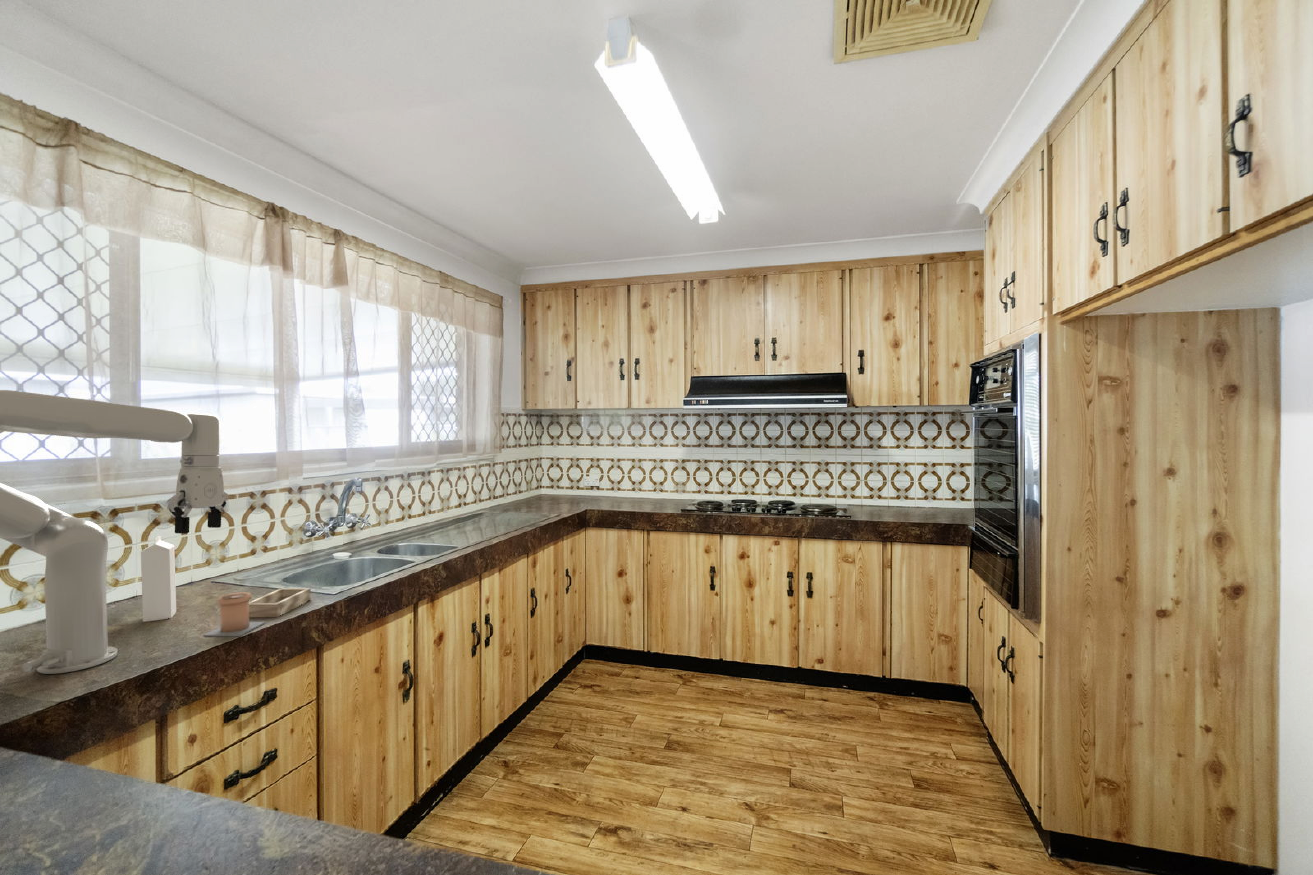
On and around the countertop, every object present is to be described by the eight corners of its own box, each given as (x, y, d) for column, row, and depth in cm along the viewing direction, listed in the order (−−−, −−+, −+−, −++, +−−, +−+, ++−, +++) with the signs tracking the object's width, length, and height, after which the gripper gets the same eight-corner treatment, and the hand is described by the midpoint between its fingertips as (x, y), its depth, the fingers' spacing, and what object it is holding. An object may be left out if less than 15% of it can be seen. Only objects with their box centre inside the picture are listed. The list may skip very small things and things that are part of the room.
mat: (240, 636, 143) (240, 634, 143) (203, 636, 143) (203, 634, 143) (264, 623, 152) (264, 622, 152) (230, 623, 152) (230, 622, 152)
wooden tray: (277, 617, 157) (277, 604, 157) (244, 617, 157) (244, 604, 157) (310, 600, 172) (310, 588, 172) (280, 600, 172) (280, 588, 172)
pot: (238, 633, 144) (237, 600, 144) (210, 633, 144) (209, 600, 144) (258, 623, 151) (257, 592, 151) (231, 623, 151) (230, 592, 151)
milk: (142, 622, 154) (139, 540, 153) (148, 615, 159) (145, 536, 158) (172, 618, 157) (168, 537, 156) (177, 611, 162) (174, 533, 161)
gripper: (185, 464, 138) (183, 536, 137) (240, 461, 155) (239, 525, 155) (154, 463, 138) (153, 535, 138) (213, 461, 155) (212, 525, 155)
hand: (198, 530), depth 146 cm, fingers open, 9 cm apart
